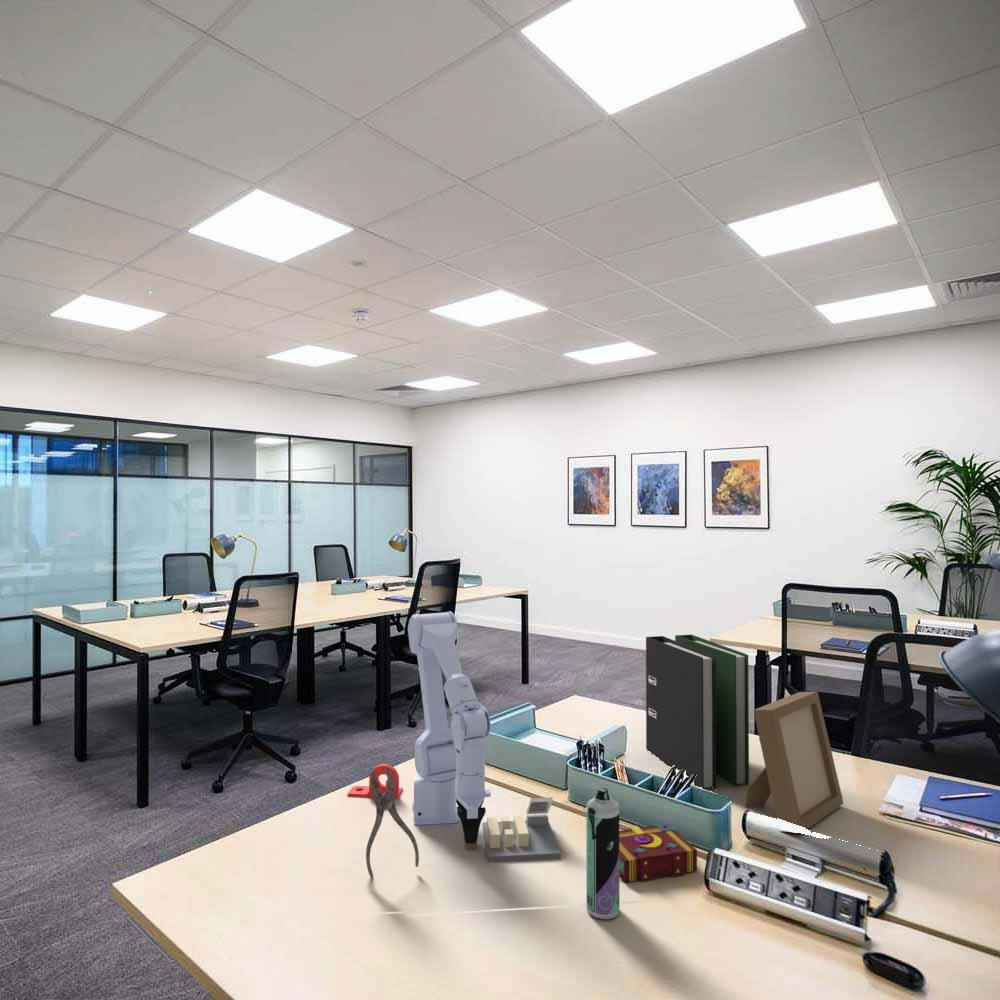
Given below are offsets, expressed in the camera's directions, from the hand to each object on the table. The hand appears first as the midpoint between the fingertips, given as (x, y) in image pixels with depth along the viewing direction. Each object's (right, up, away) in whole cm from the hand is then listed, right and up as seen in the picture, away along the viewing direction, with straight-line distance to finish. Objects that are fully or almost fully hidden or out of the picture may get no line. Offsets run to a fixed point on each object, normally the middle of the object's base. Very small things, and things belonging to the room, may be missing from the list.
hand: (470, 838), depth 133 cm
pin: (0, -2, 0) cm, 2 cm away
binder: (+56, -3, +40) cm, 69 cm away
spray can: (+23, -2, -21) cm, 31 cm away
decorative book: (+33, -2, -6) cm, 34 cm away
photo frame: (+70, -2, +16) cm, 72 cm away
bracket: (-23, -2, +24) cm, 34 cm away
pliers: (-14, -2, -10) cm, 18 cm away
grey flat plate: (+14, +4, +5) cm, 15 cm away
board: (+10, -2, +2) cm, 10 cm away
